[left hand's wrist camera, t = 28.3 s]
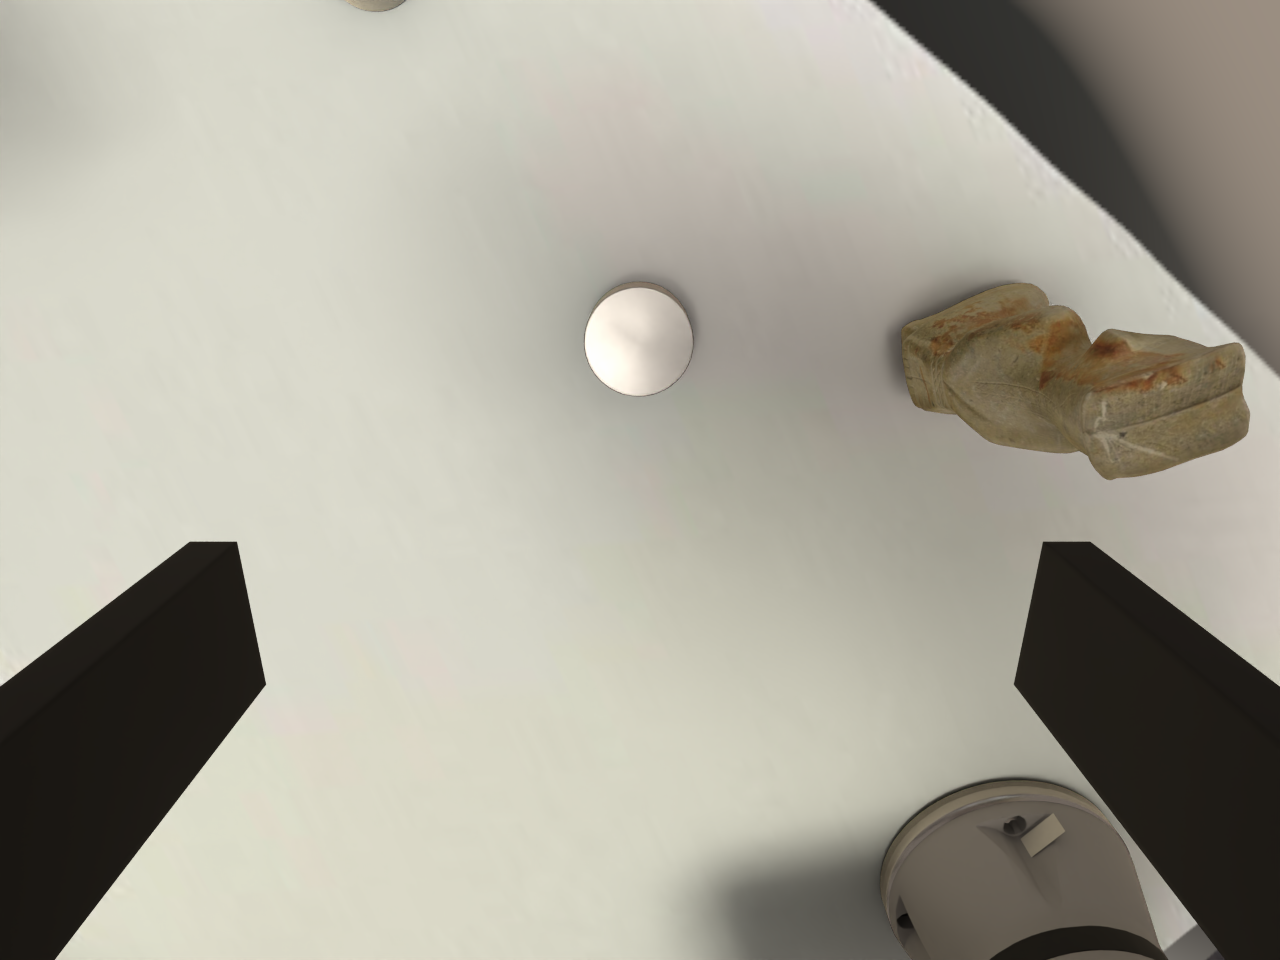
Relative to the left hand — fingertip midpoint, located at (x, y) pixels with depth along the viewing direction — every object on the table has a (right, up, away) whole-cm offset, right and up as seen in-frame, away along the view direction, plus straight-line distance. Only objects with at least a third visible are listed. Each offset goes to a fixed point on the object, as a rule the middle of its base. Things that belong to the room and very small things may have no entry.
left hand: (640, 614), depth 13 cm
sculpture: (+16, +9, +25) cm, 31 cm away
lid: (0, +9, +23) cm, 24 cm away
